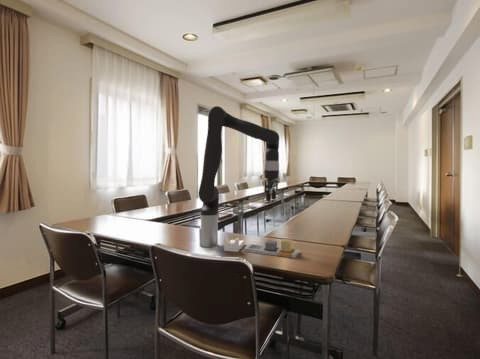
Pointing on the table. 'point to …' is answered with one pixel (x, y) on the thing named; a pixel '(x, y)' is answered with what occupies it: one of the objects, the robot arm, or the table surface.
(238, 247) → the bracket
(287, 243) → the yellow gold block
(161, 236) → the table surface
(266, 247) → the brushed steel cube
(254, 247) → the grey long flat tray
